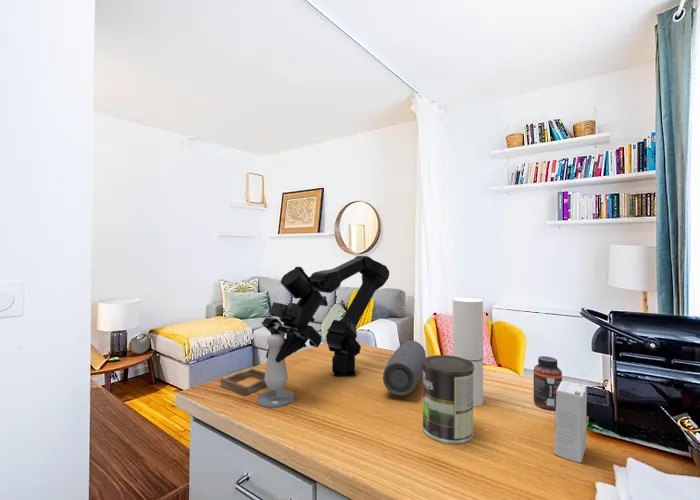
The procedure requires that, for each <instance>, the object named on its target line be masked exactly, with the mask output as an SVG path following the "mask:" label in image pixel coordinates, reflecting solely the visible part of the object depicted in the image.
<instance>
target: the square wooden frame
mask: <svg viewBox="0 0 700 500" xmlns="http://www.w3.org/2000/svg"><path fill="white" fill-rule="evenodd" d="M265 372H266V371H261V370H258V369H255V368H250V369H245V370H243V371H240V372H238V373H234V374H231V375H229V376H226V377H223V378H220V387H221V388H223V389H227V390H229V391H232V392H234V393H237V394H239V395H242V396H244V397H246V396H248V395H251V394H253V393H255V392H258V391H260V390H262V389H266V388H267V385H266V383H265V380H264V378H265ZM251 377H252V378H256V379H257V380H258V381H256V382H253V383H251V384H248V385H242V384H240V383H237V382H240V381H242V380H243V381H244V380H245V379H249V378H251Z"/></svg>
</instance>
